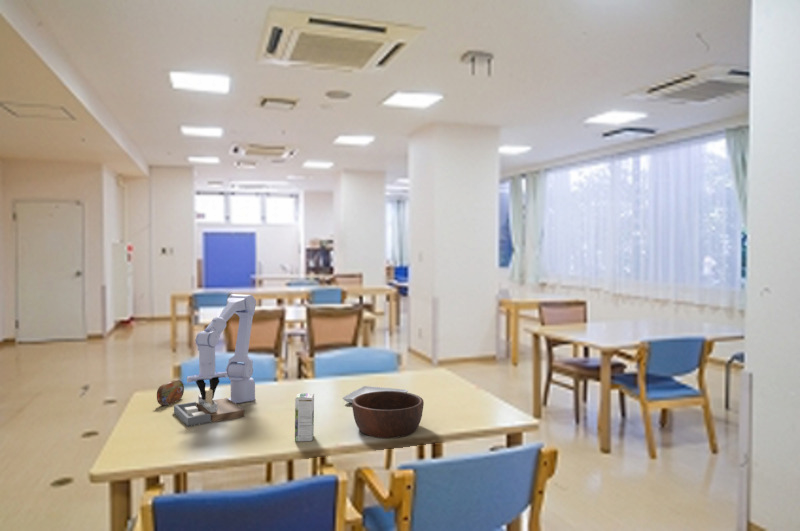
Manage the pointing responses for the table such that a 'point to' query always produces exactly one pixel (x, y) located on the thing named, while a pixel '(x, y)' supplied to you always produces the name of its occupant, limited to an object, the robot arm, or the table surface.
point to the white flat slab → (208, 401)
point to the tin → (170, 392)
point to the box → (187, 418)
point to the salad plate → (368, 389)
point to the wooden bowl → (387, 413)
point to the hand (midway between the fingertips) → (207, 398)
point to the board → (223, 410)
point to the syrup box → (304, 417)
